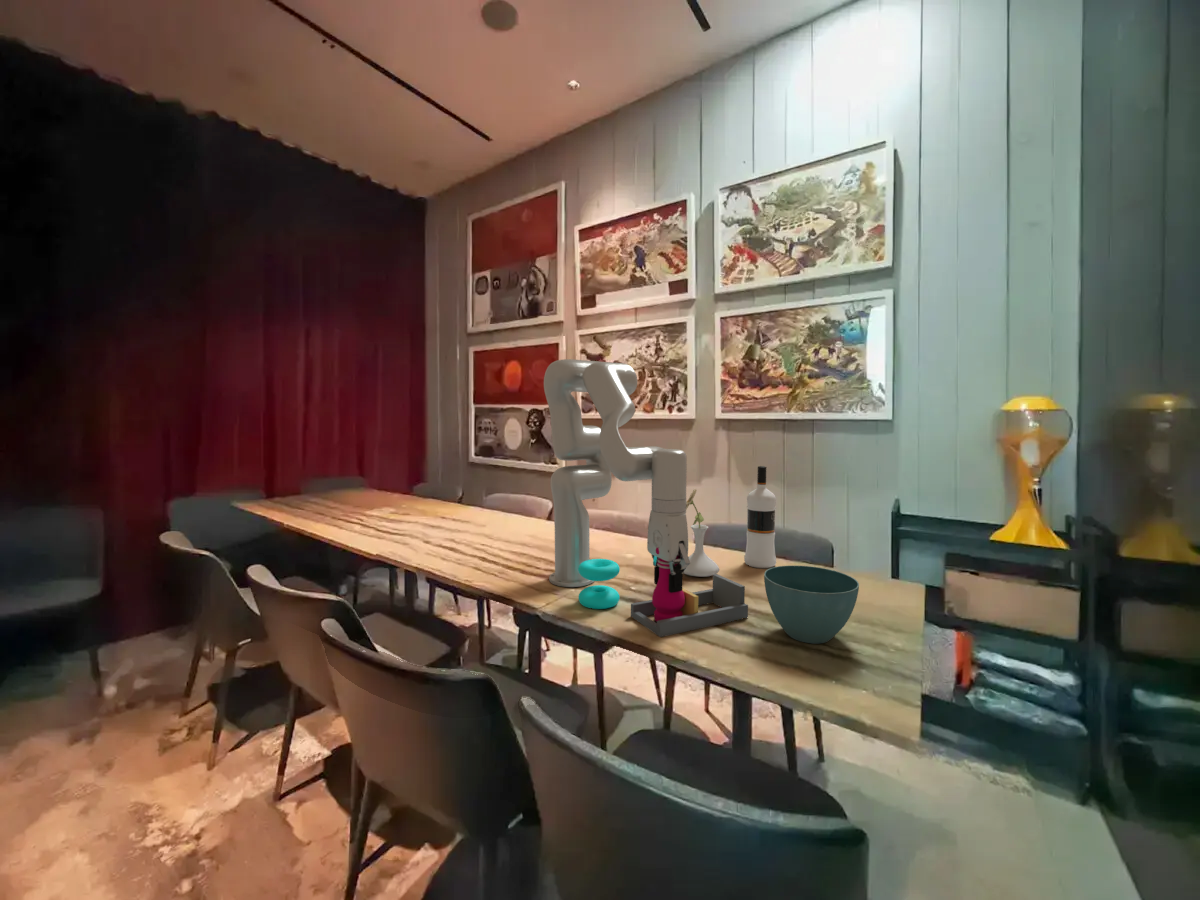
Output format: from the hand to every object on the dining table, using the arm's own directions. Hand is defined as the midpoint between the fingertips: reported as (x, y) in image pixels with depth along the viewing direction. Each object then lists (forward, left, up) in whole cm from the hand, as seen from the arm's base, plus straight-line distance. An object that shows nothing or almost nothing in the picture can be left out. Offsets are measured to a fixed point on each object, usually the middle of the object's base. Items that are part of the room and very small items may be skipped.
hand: (668, 586), depth 119 cm
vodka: (-25, +49, -8) cm, 56 cm away
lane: (0, +6, -8) cm, 10 cm away
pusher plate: (0, +4, -8) cm, 9 cm away
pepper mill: (0, 0, -8) cm, 8 cm away
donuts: (-17, -9, -8) cm, 21 cm away
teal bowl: (+19, +22, -8) cm, 30 cm away
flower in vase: (-25, +26, -8) cm, 37 cm away
